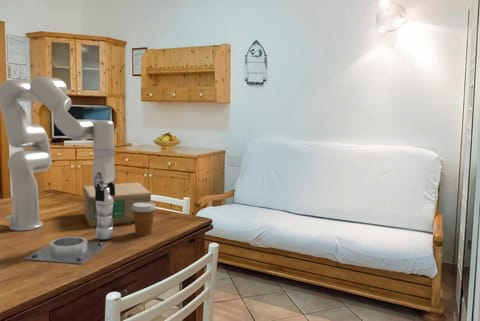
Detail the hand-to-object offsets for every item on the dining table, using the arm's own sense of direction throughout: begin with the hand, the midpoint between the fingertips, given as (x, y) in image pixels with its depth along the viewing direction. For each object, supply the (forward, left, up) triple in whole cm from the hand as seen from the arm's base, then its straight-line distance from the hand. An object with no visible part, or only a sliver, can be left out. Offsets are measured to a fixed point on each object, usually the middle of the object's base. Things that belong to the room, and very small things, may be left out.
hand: (105, 198), depth 161 cm
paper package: (-9, +32, -17) cm, 37 cm away
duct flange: (-7, -16, -16) cm, 24 cm away
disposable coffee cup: (+11, +10, -16) cm, 22 cm away
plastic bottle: (-1, 0, -16) cm, 16 cm away
